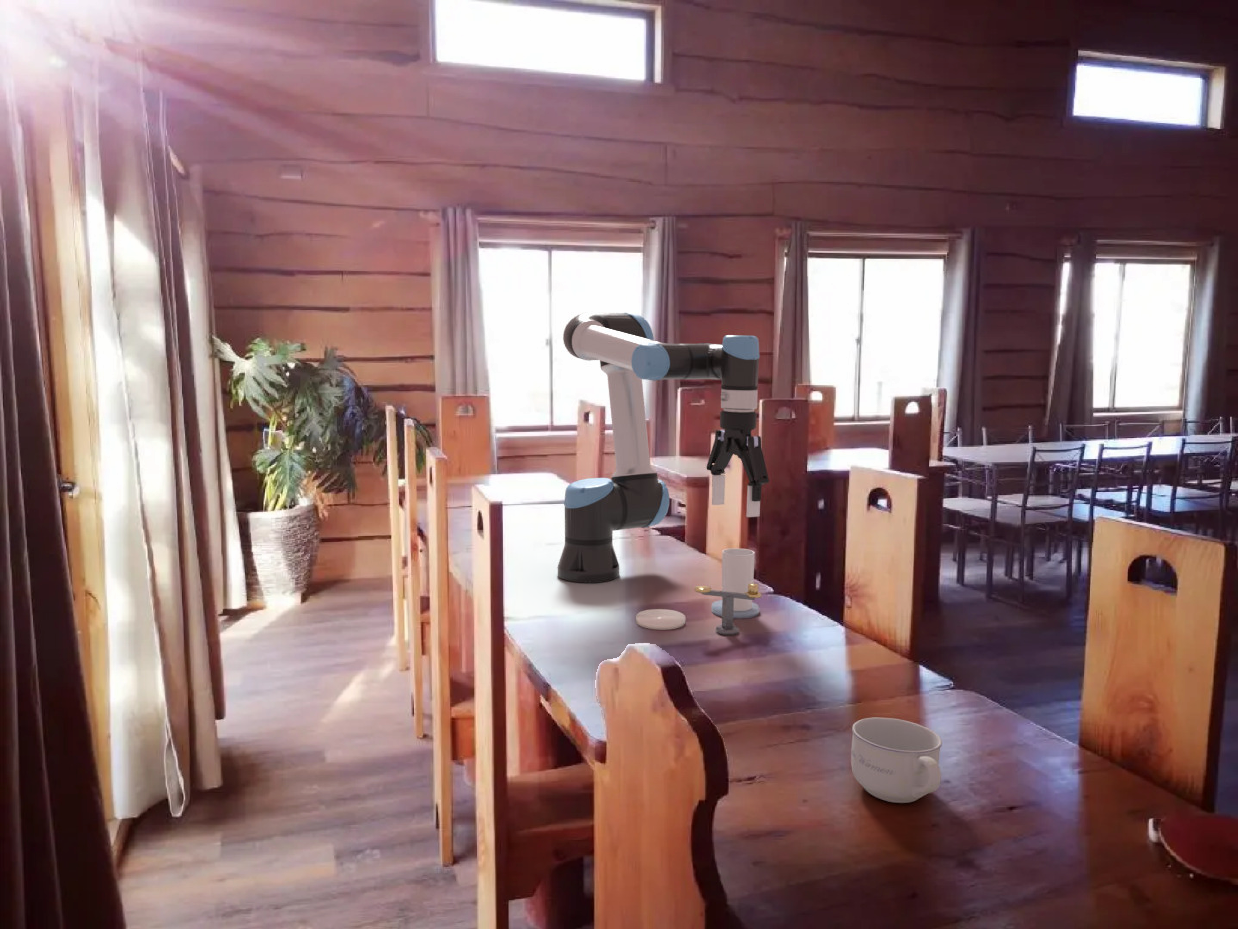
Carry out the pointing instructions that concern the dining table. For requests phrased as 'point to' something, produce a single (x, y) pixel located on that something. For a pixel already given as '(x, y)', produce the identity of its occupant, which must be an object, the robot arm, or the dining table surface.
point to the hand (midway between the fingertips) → (734, 510)
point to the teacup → (895, 758)
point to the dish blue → (736, 614)
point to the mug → (738, 574)
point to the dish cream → (660, 619)
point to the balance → (729, 605)
